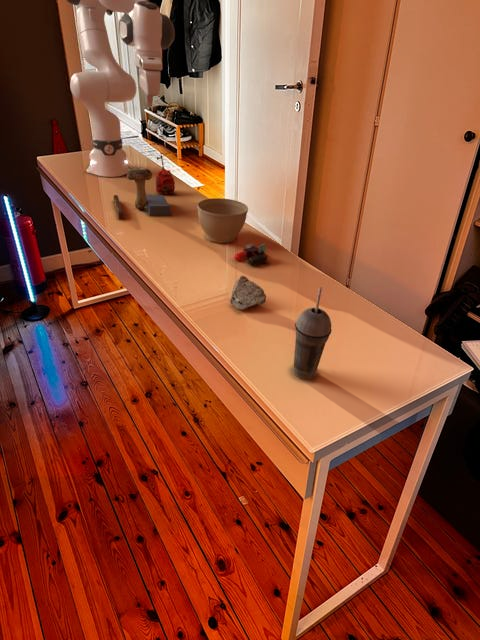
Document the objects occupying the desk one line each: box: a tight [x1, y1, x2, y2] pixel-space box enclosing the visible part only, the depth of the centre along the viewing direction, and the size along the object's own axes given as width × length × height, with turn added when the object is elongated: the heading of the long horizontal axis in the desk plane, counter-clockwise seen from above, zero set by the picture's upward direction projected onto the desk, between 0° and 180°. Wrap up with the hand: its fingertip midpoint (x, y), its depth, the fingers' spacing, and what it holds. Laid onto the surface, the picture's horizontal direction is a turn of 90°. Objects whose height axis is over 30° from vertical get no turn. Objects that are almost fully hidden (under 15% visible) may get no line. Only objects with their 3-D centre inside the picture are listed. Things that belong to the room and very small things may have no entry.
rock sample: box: [229, 275, 267, 310], centre depth 121 cm, size 10×8×9 cm
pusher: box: [145, 194, 171, 217], centre depth 173 cm, size 12×7×4 cm, turn 18°
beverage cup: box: [293, 286, 332, 381], centre depth 95 cm, size 7×7×20 cm
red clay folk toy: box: [155, 152, 176, 196], centre depth 186 cm, size 8×7×15 cm
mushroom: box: [126, 167, 153, 211], centre depth 168 cm, size 9×9×15 cm
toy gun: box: [233, 242, 269, 267], centre depth 144 cm, size 10×12×5 cm
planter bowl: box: [196, 197, 249, 244], centre depth 154 cm, size 16×16×11 cm
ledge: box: [112, 194, 124, 221], centre depth 169 cm, size 18×2×2 cm, turn 18°
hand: (149, 106), depth 164 cm, fingers closed
